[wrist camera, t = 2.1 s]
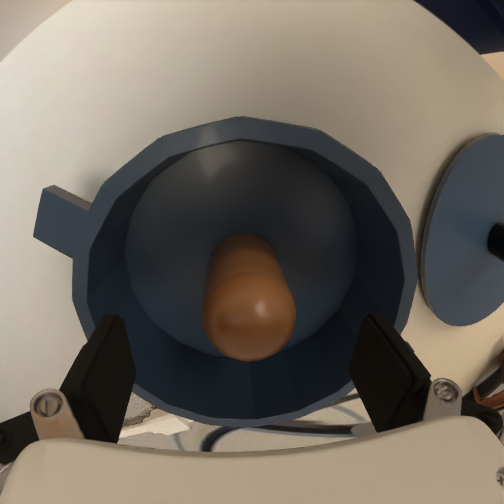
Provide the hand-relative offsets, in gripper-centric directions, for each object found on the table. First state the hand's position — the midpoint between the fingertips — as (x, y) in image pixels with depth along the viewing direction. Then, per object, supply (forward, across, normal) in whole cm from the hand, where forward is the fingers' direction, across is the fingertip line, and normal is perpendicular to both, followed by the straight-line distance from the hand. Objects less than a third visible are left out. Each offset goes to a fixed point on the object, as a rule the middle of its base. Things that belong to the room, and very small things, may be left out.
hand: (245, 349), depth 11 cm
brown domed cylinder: (+7, 0, 0) cm, 7 cm away
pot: (+7, 0, 0) cm, 7 cm away
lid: (+6, -20, -3) cm, 22 cm away
